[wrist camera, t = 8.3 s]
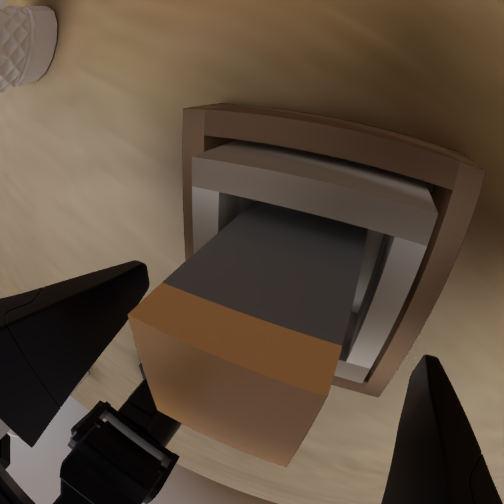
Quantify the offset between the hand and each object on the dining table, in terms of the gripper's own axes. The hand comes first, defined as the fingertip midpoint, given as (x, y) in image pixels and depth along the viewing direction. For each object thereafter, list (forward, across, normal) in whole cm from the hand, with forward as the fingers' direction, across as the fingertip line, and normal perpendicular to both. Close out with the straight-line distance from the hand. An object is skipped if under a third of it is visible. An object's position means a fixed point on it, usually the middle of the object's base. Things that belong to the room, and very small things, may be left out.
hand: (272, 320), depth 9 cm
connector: (+5, 0, 0) cm, 5 cm away
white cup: (+7, +23, -11) cm, 26 cm away
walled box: (+7, 0, +1) cm, 7 cm away
